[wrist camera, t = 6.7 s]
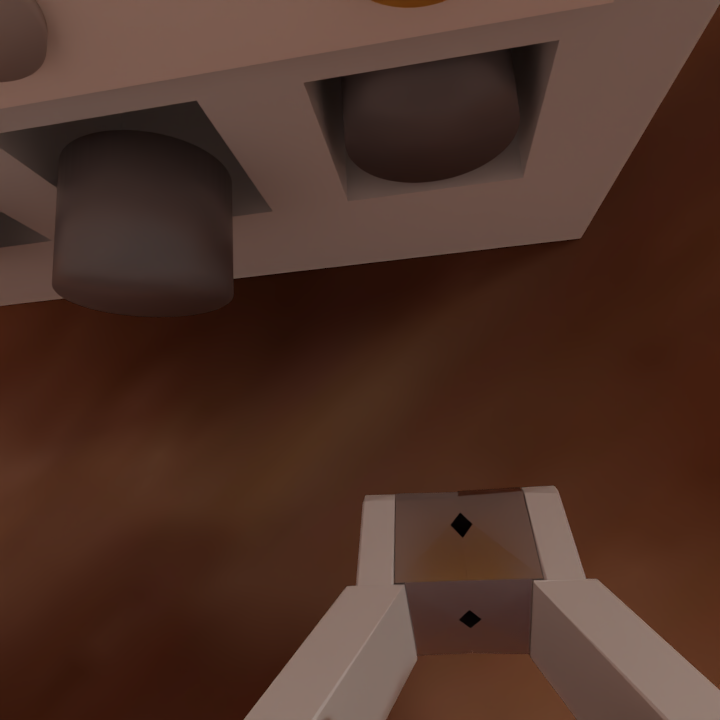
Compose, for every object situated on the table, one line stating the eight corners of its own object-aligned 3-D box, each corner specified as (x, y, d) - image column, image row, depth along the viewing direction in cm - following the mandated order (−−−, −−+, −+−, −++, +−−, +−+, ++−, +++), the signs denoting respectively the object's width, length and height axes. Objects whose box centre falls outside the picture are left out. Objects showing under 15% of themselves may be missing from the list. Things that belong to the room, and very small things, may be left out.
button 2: (256, 308, 15) (187, 251, 11) (119, 322, 15) (7, 274, 11) (254, 205, 15) (188, 117, 11) (122, 223, 16) (16, 144, 12)
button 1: (509, 171, 14) (533, 60, 10) (359, 191, 15) (328, 94, 11) (496, 71, 15) (514, -68, 11) (352, 94, 15) (321, -31, 12)
